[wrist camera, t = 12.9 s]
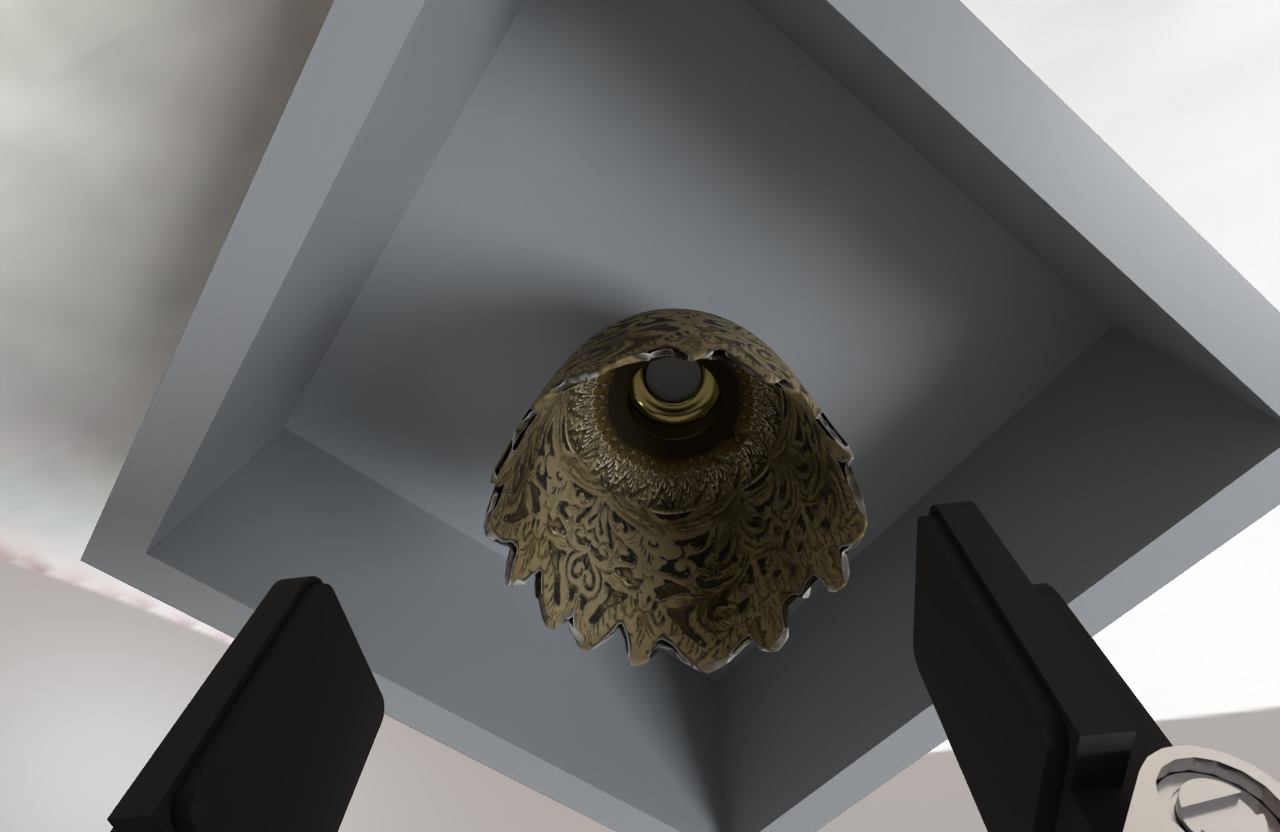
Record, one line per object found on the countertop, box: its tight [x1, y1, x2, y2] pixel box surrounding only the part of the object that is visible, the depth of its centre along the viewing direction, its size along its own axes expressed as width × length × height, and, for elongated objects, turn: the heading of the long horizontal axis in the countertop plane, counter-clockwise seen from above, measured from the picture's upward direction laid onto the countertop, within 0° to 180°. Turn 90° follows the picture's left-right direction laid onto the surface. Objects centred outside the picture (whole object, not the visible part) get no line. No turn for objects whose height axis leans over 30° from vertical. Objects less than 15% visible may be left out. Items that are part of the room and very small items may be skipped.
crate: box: [81, 0, 1280, 832], centre depth 18 cm, size 20×20×8 cm
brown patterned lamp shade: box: [484, 308, 867, 673], centre depth 17 cm, size 7×7×8 cm
